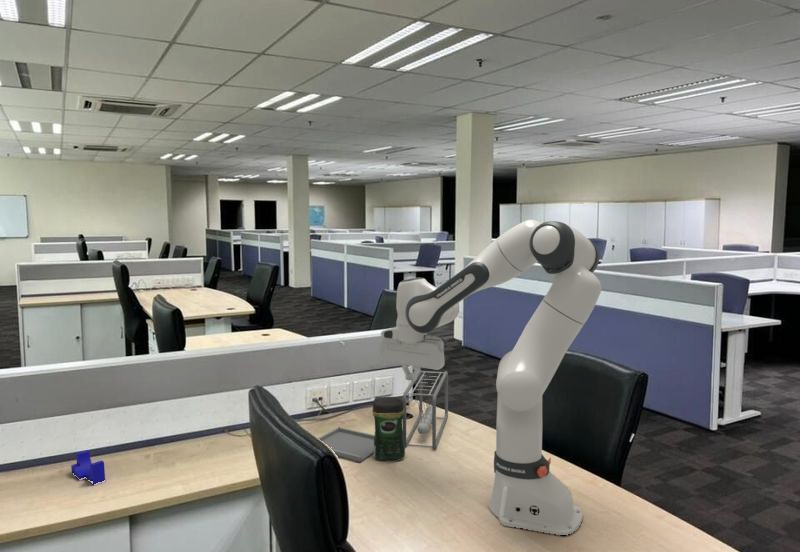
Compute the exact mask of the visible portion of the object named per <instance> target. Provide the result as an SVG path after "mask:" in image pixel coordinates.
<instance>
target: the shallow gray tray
mask: <svg viewBox="0 0 800 552" xmlns="http://www.w3.org/2000/svg"><path fill="white" fill-rule="evenodd" d="M374 435H375V434H372V433H368V432H363V431H359V430H354V429H349V428H346V427H341V426H338V427H336V428H334V429H332V430H330V431H329V432H327V433H324V434H323V435H321V436H319V437H318V439H320V440H321V441H323V442H324V443H325V444H327V445H328V446H329V447H330V448H331V447H332V448H331V449H332V450H333V451H334V452H335V454H336V455H337V456H338V457H337V458H339V459H343V460H346V461H351V462H354V463H359V464H361V463H363V462H364V461H366V460H367V459H369V458H370V457H372V456H374V453H373V449H374Z"/></svg>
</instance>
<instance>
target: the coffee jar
mask: <svg viewBox="0 0 800 552" xmlns="http://www.w3.org/2000/svg"><path fill="white" fill-rule="evenodd" d="M372 405H373V406H372V416H373V418H374V434H373V435H374V449H373V453H374V454H373V458H375V460H377V461H381V462H383V461H384V462H385V461H387V462H388V461H389V462H390V461H400V460H402V459H404V457H405V455H406V449H405V448H406V447H405V445H404V437H403V414H404V405H403V396H375V398H373V404H372Z"/></svg>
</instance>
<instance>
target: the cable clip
mask: <svg viewBox="0 0 800 552" xmlns="http://www.w3.org/2000/svg"><path fill="white" fill-rule="evenodd" d="M75 456H76V458H75V459H76V463H74V464H71V465H70V466H71V467H70V468H71V474H72V473H74V475H76V476H77V477H78V478H79V479H81V478H84V477H86V478H87V479H88V480H90V481H93V484H96V483H98V482H102V481H104V480H105V481H106V470H105V461H104V460H102V459H101V460H99V461H95V462H92V459H91V456H90V450H83V451H80V452H77V453H75Z"/></svg>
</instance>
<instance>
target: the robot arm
mask: <svg viewBox="0 0 800 552" xmlns="http://www.w3.org/2000/svg"><path fill="white" fill-rule="evenodd" d="M599 262H600V253H599V249H598V248H597V246H596V244H595V242H593V241H592V240H591V239H589V238H587V237H586V236H585V235H584V234H583V233H582V232H581V231H580V230H578V229H576V228H574V227H572V226H569V225H568V224H566V223H564V222H561V221H555V220H550V221H544V222H543V223H542V222H541V221H538V220H535V219H526V220H524V221H522V222H520V223H518V224H516V225H514V226H513V227H511V228H510V229H508V230H506V231H505V232H503V233H502V234H501V235H499V236H498V237H497V238H495V239H494V240H493V241H492V242H491V243H490V244H489V245H488V246H487V247H485V248H484V249H483V250H481V252H480V253H479V254H477V256H475V258H473V259H472V261H470V262H469V263H468V264H467V265H466V266H465V267H464V268H463V269H462V270H460V271H459V272H458V273H456V274H455V275H454V276H452V277H451V278H450V279H448V280H447V281H446V282H444V283H443V284H441V285H440V286H438V287H436V286H434V285H433V284H431V283H429V282H428V281H427V279H425V278H424V277H421V276H420V277H419V276H418V277H411V278H407V279H406V278H405V279H403V280H402V281H401V280H400V282H399V283H398V286H397V289H396V306H395V307H396V313H397V318H396V324H395V325H396V326H392V327H390V328H386V329H384V330H381V333H380V336H381V340H380V342H379V346H378V347H379V349H378V352H379V353H378V357H379V359H380V360H381V362H386V363H393V364H398V365H401V369H402V370H403V372H404V375H405V376H404V377H405V380H407V381H415V382H416V381H417V380H418V378H417V374H418V372H419V370H421V368H423V369H429V370H436V371H438V370H441V369H443V367H444V366H445V364H446V363H445V362H446V361H445V360H446V359H445V351H444V350H445V342H444V341H443V340H442V338H440V336H433V335H428V333H430V332H432V331H433V330H435V329H437V328H439V327H442V326H445V325H448V324H449V323H451V322H453V321H454V320H455V319H456V318H457V317H458V315H459V312H460V302H462V301H463V300H465V299H466V298H467V297H469V296H471V295H473V294H474V293H477V292H480V291H482V290H485V289H488V288H493V287H496V286H499V285H502V284H504V283H507V282H509V281H511V280H513V279H516V277H518V276H519V275H521V274H523V273H524V272H525V271H527V270H528V269H529V268H530V267H532V266H533V265H535V264H536V263H539V264H540V266H541V267H542V269H544V271H545V272H546V274H550V275H552V277H553V279H552V284H551V286H550V287H549V288H548V289H549V290H548V291H547V292H546V294H545V296H544V297H543V299H542V300H541V302H540V303H539V304H538V306H537V308H536V310H535V311H534V312H533V314H532V316H531V318H530V319H529V320H528V322H527V323H526V325H525V327H524V329H523V331H522V333H521V335H520V336H519V338H518V340H517V342H516V344H515V345H514V347H513V349H512V350H510V351H508V352H507V353H506V354H504V355H503V357H502V358H501V359H500V361H499V364H498V367H497V375H496V381H495V383H496V384H495V388H496V392H497V402H496V404H497V405H496V428H495V429H496V430H495V431H496V432H495V433H496V435H495V436H496V439H495V441H496V444H495V445H496V446H495V450H494V453H493V454H494V456H493V472H494V479H493V480H494V481H493V487H492V492H491V497H490V500H489V503H488V508H489V511H490V512H491V513H492V514H493V515H494V516H496V517H497V519H498V521H499V523H500V524H501V525H502V526H505V527H510V528H514V527H516V528H515V529H520V528H523V529H522V530H526V529H528V530H527V531H532V530H533V532H537V531H538V532H537V533H543V532H544V534H549V533H550V534H549V535H554V534H556V535H555V536H560V535H567V536H569V535H568V534H570V535H572V534H574V533H575V532H577V530H578V529H579V528H580V527H579V526H581V525H582V523H581V522H583V520H584V519H583V518H584V516H583V510H582V509H581V507H580V506H578V505H576V504H574V499H573V495H572V492H571V490H570V488H569V487H568V486H567V485H566V484H565V483H563V482H562V481H561V480H560V479H559V478H558V477H557V476H556V475H555V474H554V473H552V471H550V464H551V461H552V458H551V457H549V458H548V460H547V458H545V456H544V454H543V451H542V450H543V395H544V393H545V391H546V390H547V388H548V387H549V384H550V383H551V381H552V379H553V377H554V376H555V374H556V372H557V370H558V368H559V366H560V365H561V362H562V360H563V359H564V356H565V355H566V353H567V351H568V349H569V348H570V346H571V345H572V343H573V342H574V340H575V339H576V337H577V336H578V334H579V333H580V332H581V330H582V329H583V327H584V326H585V323H586V322H587V321H588V319H589V317H590V315H591V314H592V312H593V311H594V309H595V306H596V304H597V302H598V299H599V297H600V295H601V292H602V284H601V282H600V280H599V278H598V277H597V276H596V275H595V273H594V272H595V271H596V269H597V268H598V265H599ZM410 366H411V367H412V369H413V372H411V371H410V368H409V367H410ZM574 531H575V532H574ZM573 532H574V533H573ZM571 533H572V534H571Z"/></svg>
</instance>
